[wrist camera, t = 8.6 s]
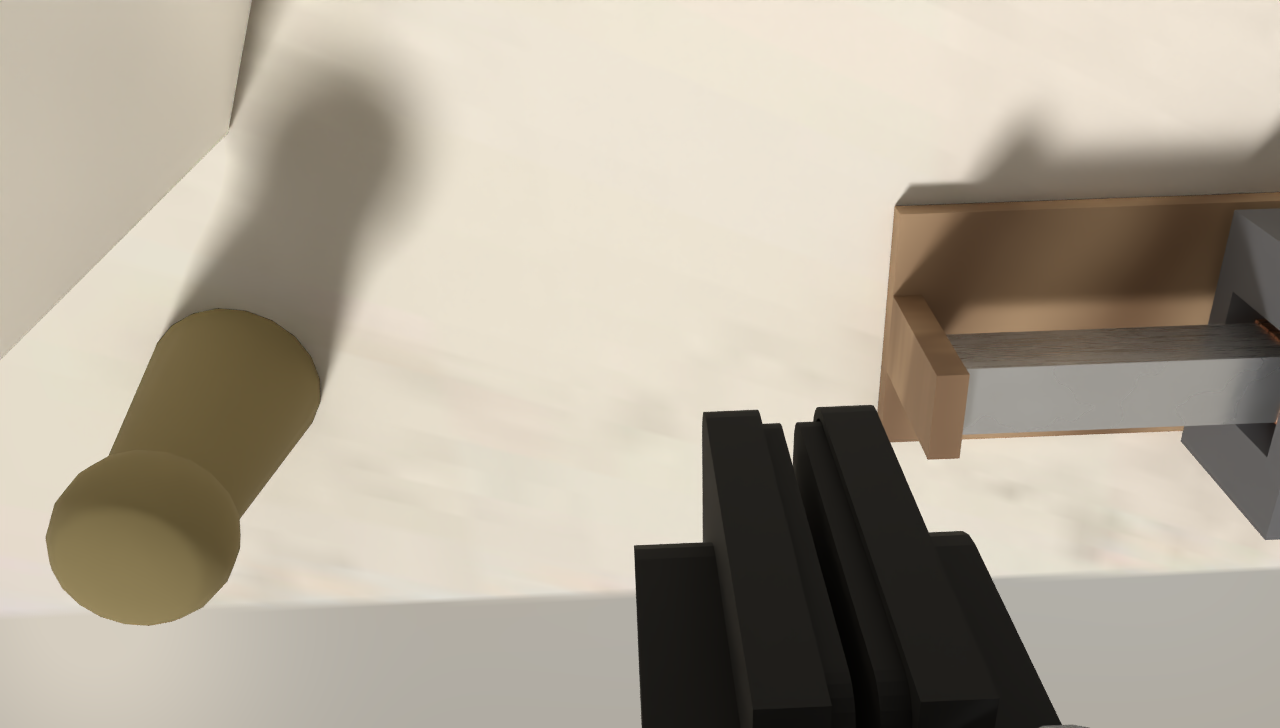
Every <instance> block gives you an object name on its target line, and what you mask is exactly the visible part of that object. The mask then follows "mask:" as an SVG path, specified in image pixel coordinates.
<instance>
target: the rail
mask: <svg viewBox="0 0 1280 728" xmlns="http://www.w3.org/2000/svg"><path fill="white" fill-rule="evenodd" d="M946 336H947V338H948V339H949V341H950V342H951V344H952V346H953V347H954V349H955V351H956V352H957V354H958V356H959V357H960V359H961V361H962V362H963V364H964V366H965V367H966V369H967V371H968V372H969V374H970V378H969V386H968V394H967V402H966V410H965V418H964V426H963V433H962V435H969V434H995V433H1020V432H1046V431H1071V430H1096V429H1122V428H1147V427H1173V426H1198V425H1224V424H1249V423H1275V424H1277V420H1278V417H1279V413H1280V330H1278V329H1277V328H1276V327H1275V326H1274V325H1272V324H1271V323H1270V322H1269V321H1268V320H1266V319H1265V318H1262V319H1255V321H1254V323H1237V324H1211V325H1184V326H1158V327H1132V328H1105V329H1079V330H1053V331H1026V332H1000V333H974V334H947V335H946Z"/></svg>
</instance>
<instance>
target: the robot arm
mask: <svg viewBox="0 0 1280 728" xmlns="http://www.w3.org/2000/svg"><path fill="white" fill-rule="evenodd" d="M702 465H703V543H681V544H659V545H636V546H634V555H635V579H636V603H637V626H638V650H639V651H638V652H639V675H640V698H641V719H642V728H1088V727H1082V726H1077V725H1062V724H1061V722H1060V720H1059V718H1058V716H1057V714H1056V712H1055V710H1054V708H1053V705H1052V703H1051V701H1050V700H1049V697H1048V695H1047V693H1046V691H1045V689H1044V687H1043V685H1042V682H1041V680H1040V678H1039V676H1038V674H1037V672H1036V670H1035V668H1034V666H1033V664H1032V662H1031V660H1030V658H1029V655H1028V653H1027V651H1026V649H1025V647H1024V645H1023V643H1022V641H1021V639H1020V637H1019V635H1018V633H1017V631H1016V628H1015V626H1014V624H1013V622H1012V620H1011V618H1010V616H1009V614H1008V612H1007V610H1006V608H1005V606H1004V603H1003V601H1002V599H1001V597H1000V595H999V593H998V591H997V589H996V587H995V585H994V583H993V581H992V578H991V576H990V574H989V572H988V570H987V568H986V566H985V564H984V562H983V560H982V558H981V556H980V553H979V551H978V549H977V547H976V545H975V543H974V542H973V540H972V539H971V537H970V536H969V534H967V533H965V532H963V531H954V532H931V533H929V532H928V530H927V528H926V525H925V523H924V521H923V518H922V516H921V514H920V511H919V509H918V507H917V504H916V502H915V500H914V497H913V495H912V492H911V490H910V488H909V485H908V483H907V481H906V478H905V476H904V474H903V471H902V469H901V467H900V464H899V462H898V460H897V457H896V455H895V453H894V450H893V448H892V446H891V443H890V441H889V439H888V436H887V434H886V432H885V429H884V427H883V425H882V422H881V420H880V418H879V415H878V413H877V411H876V409H875V407H874V406H873V405H859V406H835V407H817V408H816V410H815V414H814V420H813V422H797V423H796V425H795V431H794V450H793V465H792V462H791V458H790V454H789V451H788V447H787V443H786V440H785V436H784V433H783V429H782V426H781V424H780V423H773V424H762V420H761V416H760V413H759V411H758V410H741V411H717V412H703V421H702Z"/></svg>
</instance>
